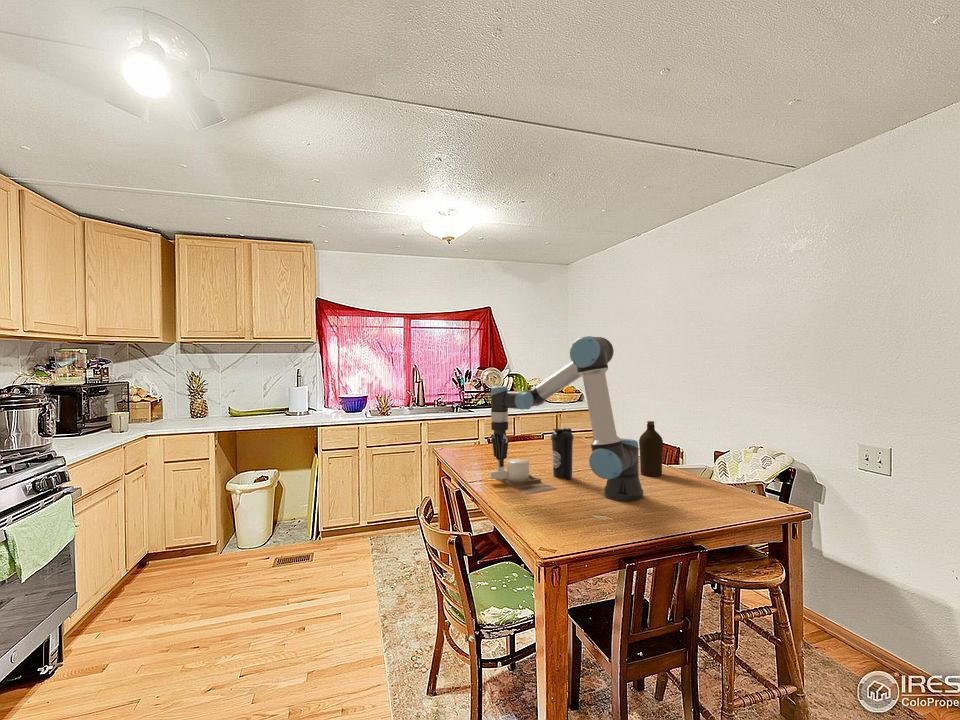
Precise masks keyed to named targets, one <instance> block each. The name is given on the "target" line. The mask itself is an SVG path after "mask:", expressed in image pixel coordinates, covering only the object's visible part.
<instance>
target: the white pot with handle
mask: <svg viewBox="0 0 960 720" xmlns="http://www.w3.org/2000/svg"><path fill="white" fill-rule="evenodd" d="M505 462H506V463H505V465H506V468H505V469H504V470H498V471H497V470H489V479H490V480H497V479H503V478H507V480H509V481H511V482H513V483H515V482H521V481H528V480H529V474H530V461H529V460H528V459H522V458H511V459H507V460H506V461H505Z"/></svg>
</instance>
